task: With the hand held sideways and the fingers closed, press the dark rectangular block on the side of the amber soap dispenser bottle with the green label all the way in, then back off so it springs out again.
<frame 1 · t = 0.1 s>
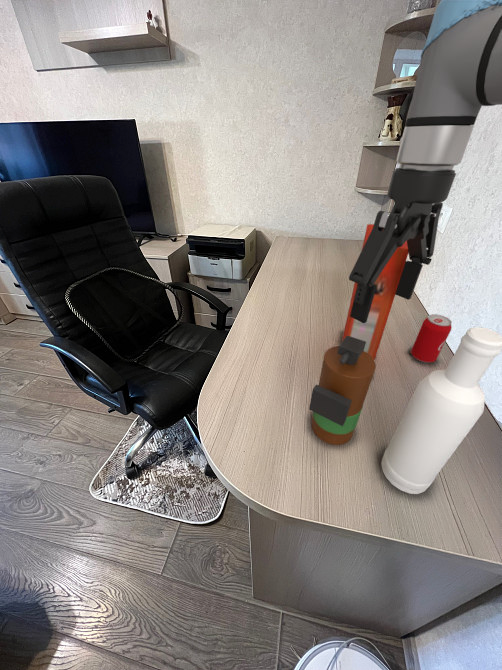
hand: (381, 307, 49), 24 cm above the table, tool pointing down, fingers open, 13 cm apart
dark rectangular block: (329, 405, 45), point 13 cm above the table, slide at 0.2 cm
dispenser: (331, 426, 57), on the table
beverage can: (422, 357, 76), on the table
file binder: (354, 353, 77), on the table
bottle: (403, 472, 49), on the table
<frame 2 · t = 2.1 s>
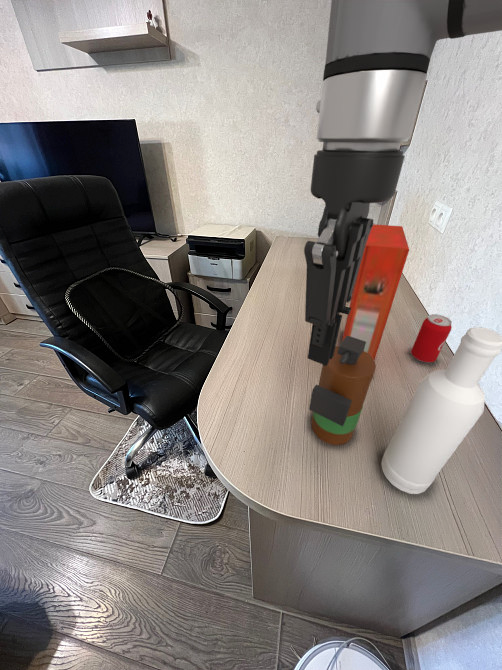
hand: (320, 357, 37), 24 cm above the table, tool pointing down, fingers closed
nothing on the table moved.
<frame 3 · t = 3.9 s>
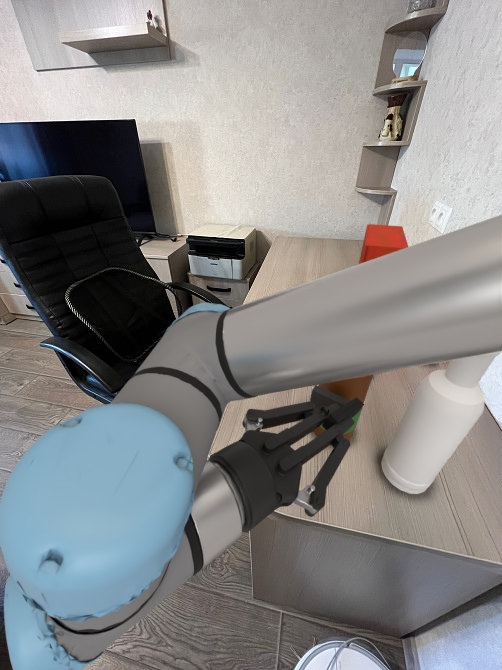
hand: (355, 406, 41), 16 cm above the table, tool horizontal, fingers closed
dark rectangular block: (328, 405, 45), point 13 cm above the table, slide at 0.3 cm, touching gripper
everything else where it was.
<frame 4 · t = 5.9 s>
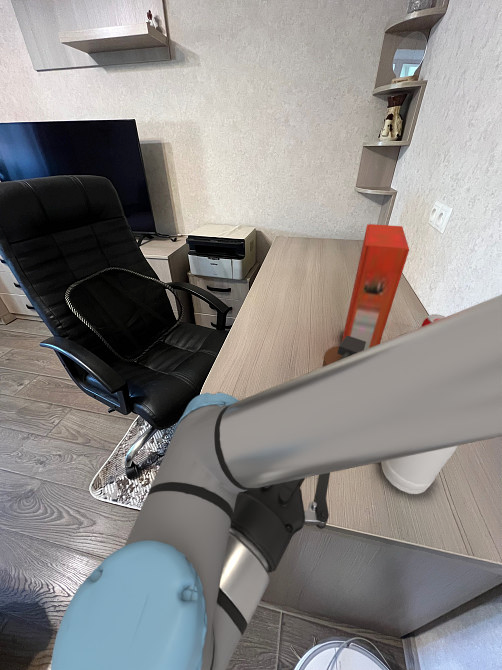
hand: (328, 406, 45), 13 cm above the table, tool horizontal, fingers closed
dark rectangular block: (331, 402, 46), point 13 cm above the table, slide at -0.7 cm, touching gripper
everything else where it was.
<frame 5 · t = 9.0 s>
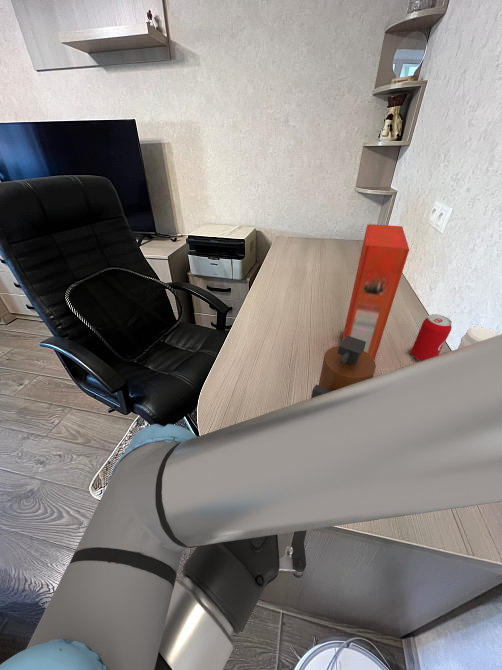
hand: (314, 428, 41), 13 cm above the table, tool horizontal, fingers closed
dark rectangular block: (329, 405, 45), point 13 cm above the table, slide at 0.1 cm
everything else where it was.
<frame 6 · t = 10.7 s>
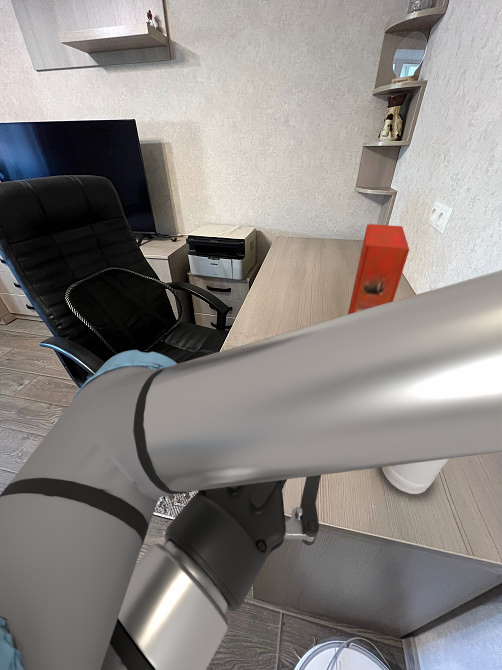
hand: (323, 385, 36), 22 cm above the table, tool horizontal, fingers closed
nothing on the table moved.
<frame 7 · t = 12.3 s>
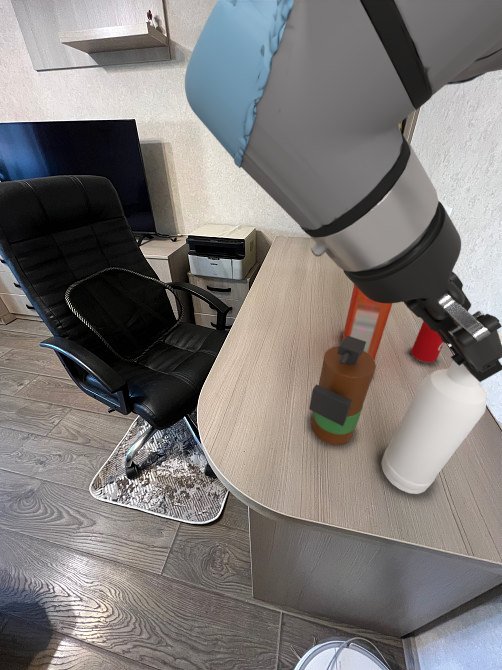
hand: (486, 370, 32), 27 cm above the table, tool tilted 50°, fingers closed
nothing on the table moved.
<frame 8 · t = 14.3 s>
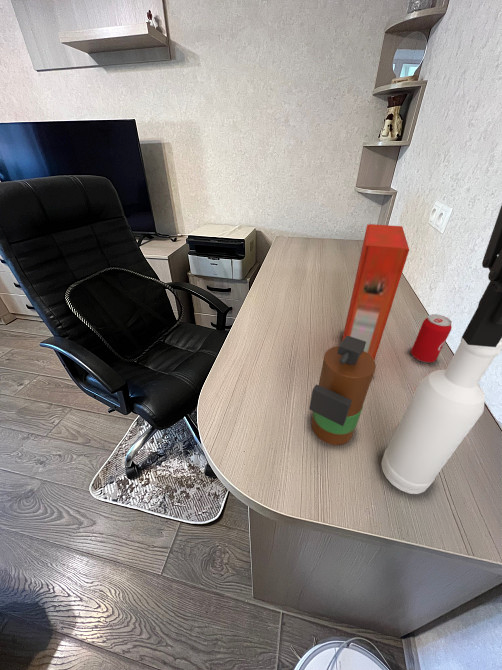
hand: (478, 341, 30), 30 cm above the table, tool pointing down, fingers closed
nothing on the table moved.
at the end: dark rectangular block pushed in 1.6 cm at the most during the clip, back to where it started at the end; dark rectangular block slide at 0.1 cm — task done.
